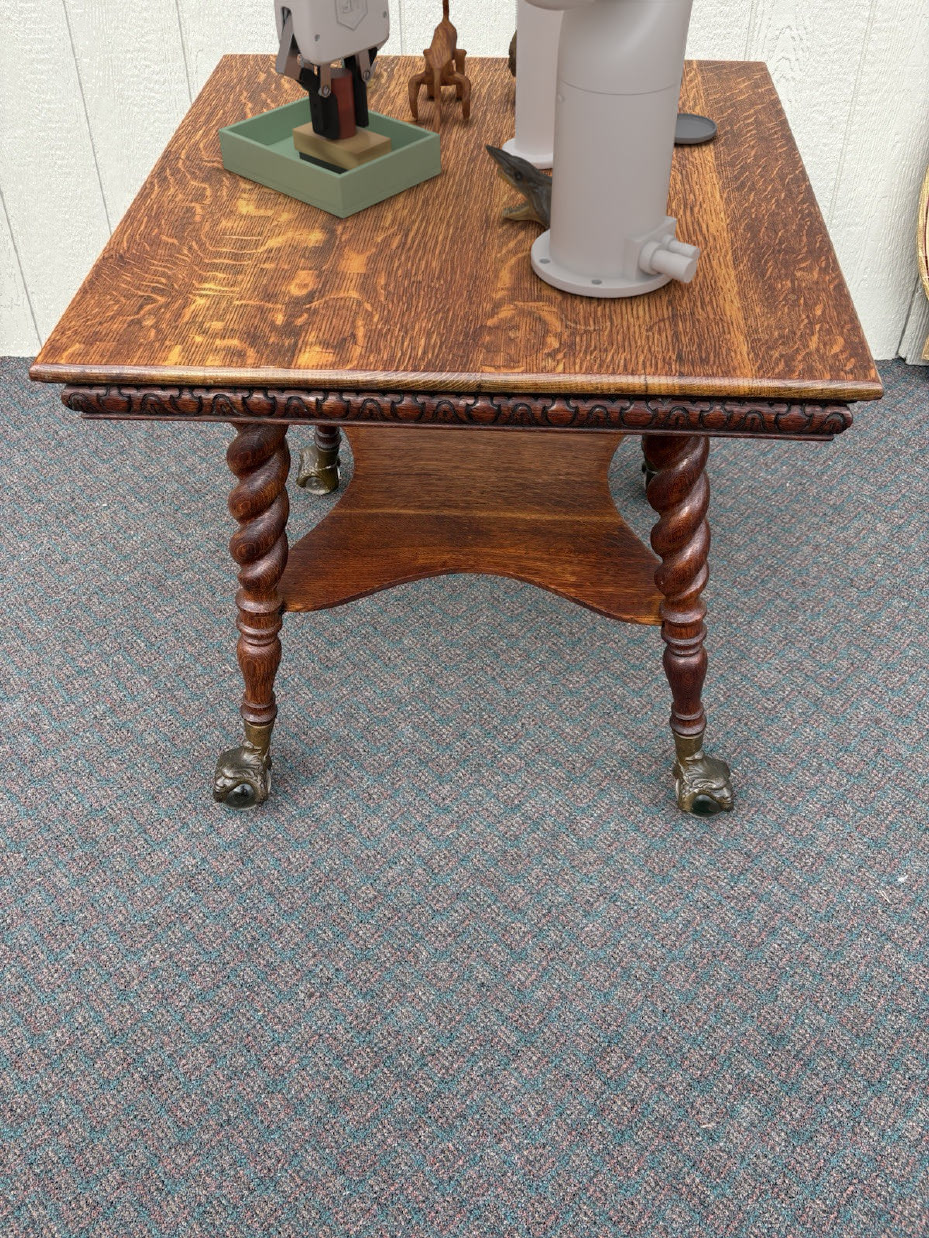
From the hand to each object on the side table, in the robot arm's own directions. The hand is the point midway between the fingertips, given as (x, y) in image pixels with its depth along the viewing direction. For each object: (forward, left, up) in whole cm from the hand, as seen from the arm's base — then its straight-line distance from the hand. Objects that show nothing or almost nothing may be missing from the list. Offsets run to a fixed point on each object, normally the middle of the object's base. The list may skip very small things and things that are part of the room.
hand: (341, 128), depth 108 cm
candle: (-11, -16, -5) cm, 20 cm away
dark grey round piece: (-18, -30, -5) cm, 35 cm away
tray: (+2, 0, -5) cm, 5 cm away
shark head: (-20, -4, -5) cm, 21 cm away
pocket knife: (+15, -17, -5) cm, 23 cm away
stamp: (0, 0, -4) cm, 4 cm away
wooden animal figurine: (+3, -17, -5) cm, 18 cm away
